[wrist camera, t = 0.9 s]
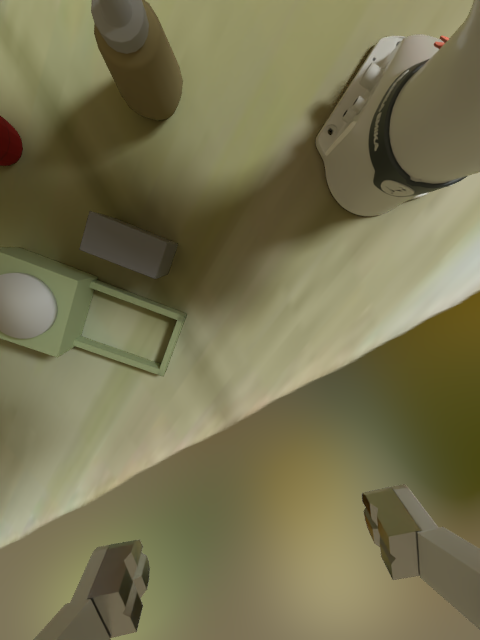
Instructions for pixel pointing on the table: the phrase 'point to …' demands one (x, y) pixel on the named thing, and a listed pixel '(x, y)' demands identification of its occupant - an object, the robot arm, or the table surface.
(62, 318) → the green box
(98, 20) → the squeeze bottle
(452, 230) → the table surface
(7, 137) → the plastic cup
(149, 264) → the tall grey box
